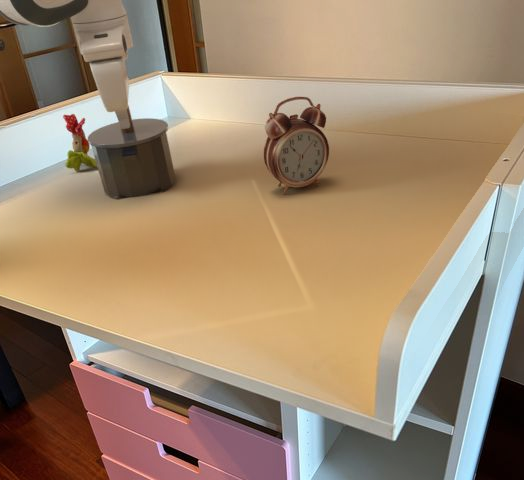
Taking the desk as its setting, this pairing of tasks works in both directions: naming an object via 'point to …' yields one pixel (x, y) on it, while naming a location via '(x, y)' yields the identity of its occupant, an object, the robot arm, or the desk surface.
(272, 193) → the desk surface
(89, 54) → the robot arm
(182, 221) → the desk surface
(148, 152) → the pot
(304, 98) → the alarm clock
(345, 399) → the desk surface
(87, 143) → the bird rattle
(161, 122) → the lid
